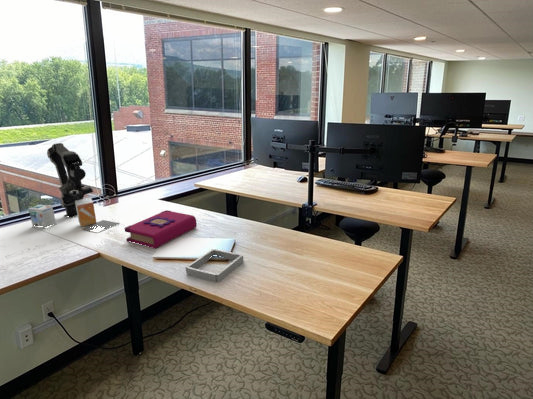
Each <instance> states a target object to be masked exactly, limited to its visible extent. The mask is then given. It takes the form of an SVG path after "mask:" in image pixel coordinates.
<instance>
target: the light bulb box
mask: <svg viewBox="0 0 533 399" xmlns="http://www.w3.org/2000/svg"><path fill="white" fill-rule="evenodd" d="M53 208H54V207H53V205H44V204H37V205H34V206H31V207H29V208H28V212H29V216H30V220H31V221H30V222H31V225H32V227H33V226H34V225H35V226H43V227H47V226H50V225H53V224H56V225H57V221H56V217H55V212H54V209H53Z"/></svg>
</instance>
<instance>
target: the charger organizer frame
mask: <svg viewBox="0 0 533 399" xmlns="http://www.w3.org/2000/svg"><path fill="white" fill-rule="evenodd" d="M213 255H217V256H221V257H224V258H223V259H225V258H226V259H225V260H230V261H231V262H230V263H229V264H227V265H226V266H225V267H224V268H222V269H221V270H220V271H218V272H217V273H215V272H210V271H207V270H202V269H199V267H201V266H203V265H204V264H205V263H206V262H208V261H209V260H210V259H209V258H210V257H211V256H213ZM243 263H244V255H242V254H241V253H237V252H230V251H227V250H222V249H218V248H214V249H213V248H212V249H210V250H209V251H207V252H206V253H204V254H202V255H201V256H199V257H198V258H197V259H195V260H194V261H192V262H190V263H189V264H187V265H186V266H185V273H187V274H186V275H187V276H190V275H191V277H194V276H195V277H194V278H199V279H203V280H205V281H209V282H214V283H219V282H221V281H222V280H224V279H225V278H226V277H227V276H228V275H229V274H232V272H233V271H235V270H236V269H237V268H239V266H240V265H242V264H243Z"/></svg>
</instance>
